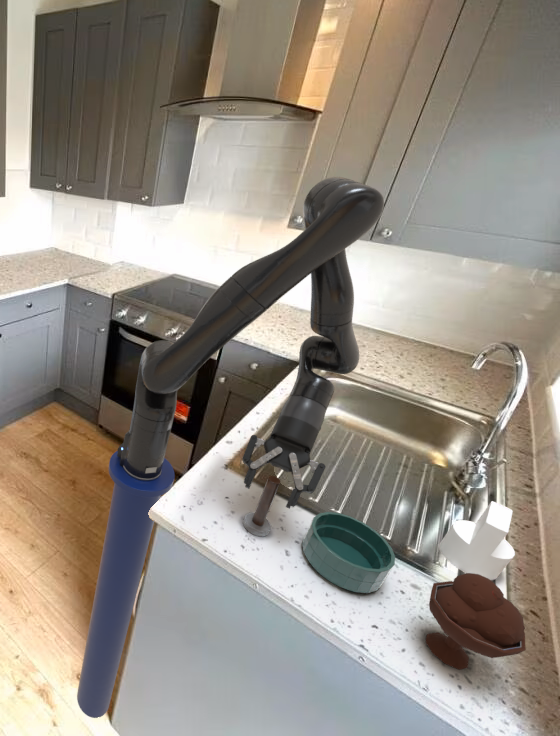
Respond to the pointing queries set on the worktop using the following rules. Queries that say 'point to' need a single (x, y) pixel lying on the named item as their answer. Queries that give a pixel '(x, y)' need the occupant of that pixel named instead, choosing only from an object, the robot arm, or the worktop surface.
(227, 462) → the worktop surface
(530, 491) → the worktop surface
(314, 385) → the robot arm
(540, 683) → the worktop surface
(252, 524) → the brown peg on base
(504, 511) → the base with upright slab
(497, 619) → the ice cream bowl
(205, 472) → the worktop surface
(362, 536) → the mixing bowl
